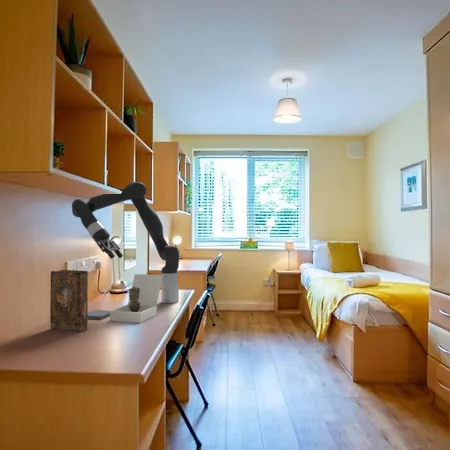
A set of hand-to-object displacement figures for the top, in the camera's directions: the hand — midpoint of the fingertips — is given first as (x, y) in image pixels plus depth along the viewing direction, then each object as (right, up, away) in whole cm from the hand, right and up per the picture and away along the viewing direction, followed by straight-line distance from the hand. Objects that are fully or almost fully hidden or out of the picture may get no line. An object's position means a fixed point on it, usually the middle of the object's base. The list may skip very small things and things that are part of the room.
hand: (117, 257), depth 178 cm
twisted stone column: (+9, -29, -2) cm, 31 cm away
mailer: (+10, -29, +1) cm, 31 cm away
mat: (-10, -29, +1) cm, 31 cm away
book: (-14, -29, -22) cm, 39 cm away
